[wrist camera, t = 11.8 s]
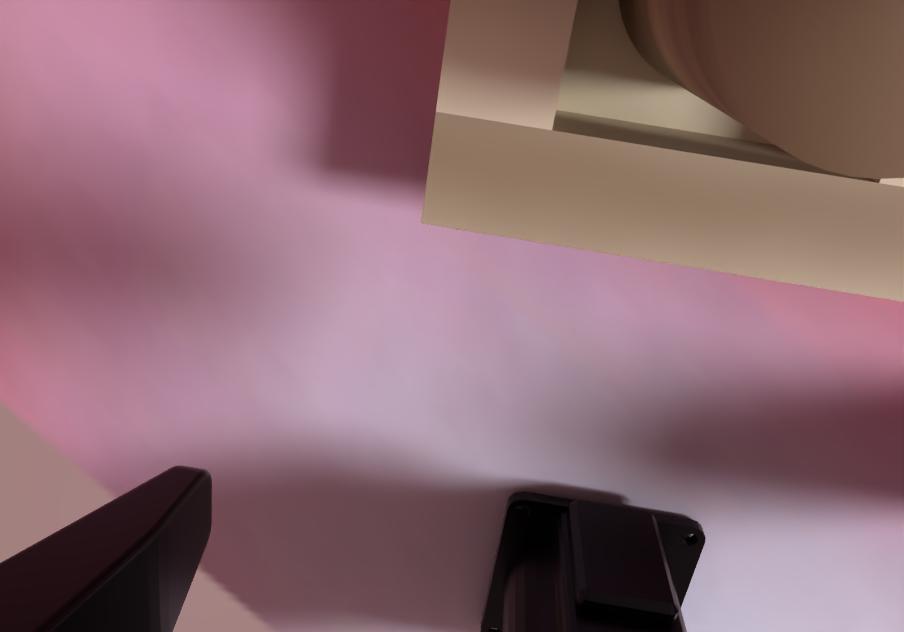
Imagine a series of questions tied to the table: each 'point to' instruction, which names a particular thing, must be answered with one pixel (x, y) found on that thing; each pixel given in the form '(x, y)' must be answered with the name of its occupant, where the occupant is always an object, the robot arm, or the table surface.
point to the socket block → (635, 159)
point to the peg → (789, 72)
